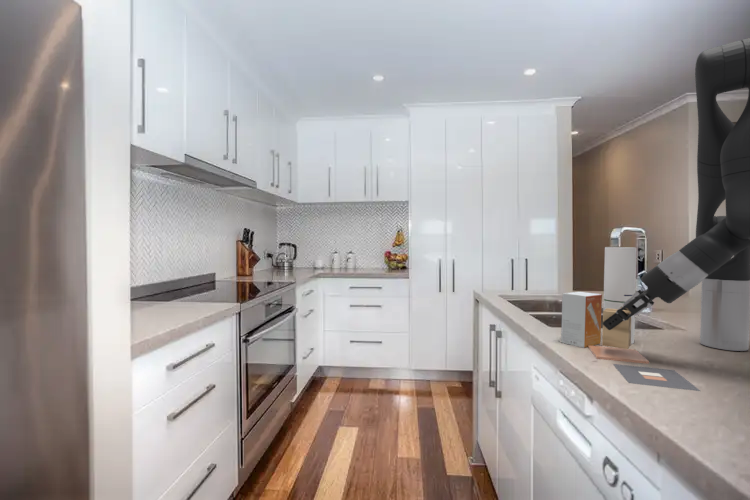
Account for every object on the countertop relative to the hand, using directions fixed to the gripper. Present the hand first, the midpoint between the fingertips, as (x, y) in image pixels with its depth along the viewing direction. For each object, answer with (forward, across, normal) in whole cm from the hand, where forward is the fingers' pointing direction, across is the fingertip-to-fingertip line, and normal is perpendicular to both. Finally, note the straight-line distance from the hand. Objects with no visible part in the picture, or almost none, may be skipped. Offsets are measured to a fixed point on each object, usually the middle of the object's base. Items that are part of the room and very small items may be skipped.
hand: (608, 324), depth 91 cm
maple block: (+2, 0, +4) cm, 5 cm away
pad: (+4, 0, +6) cm, 7 cm away
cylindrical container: (+5, -16, +5) cm, 18 cm away
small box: (+10, -6, 0) cm, 12 cm away
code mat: (-2, +12, +12) cm, 17 cm away
